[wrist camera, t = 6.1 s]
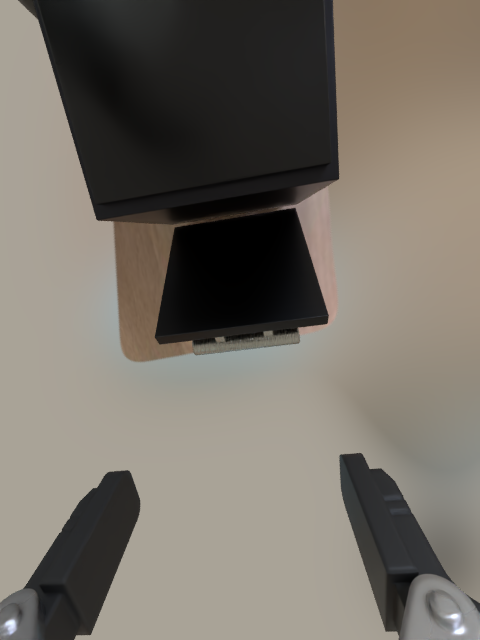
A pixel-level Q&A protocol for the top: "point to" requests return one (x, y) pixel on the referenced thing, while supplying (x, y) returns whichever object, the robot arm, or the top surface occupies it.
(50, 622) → the robot arm
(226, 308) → the oven door
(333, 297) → the top surface
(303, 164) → the oven
